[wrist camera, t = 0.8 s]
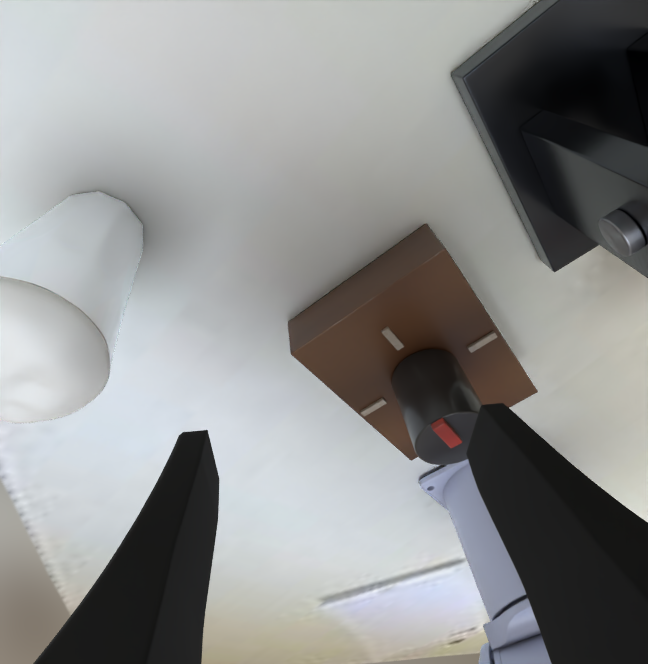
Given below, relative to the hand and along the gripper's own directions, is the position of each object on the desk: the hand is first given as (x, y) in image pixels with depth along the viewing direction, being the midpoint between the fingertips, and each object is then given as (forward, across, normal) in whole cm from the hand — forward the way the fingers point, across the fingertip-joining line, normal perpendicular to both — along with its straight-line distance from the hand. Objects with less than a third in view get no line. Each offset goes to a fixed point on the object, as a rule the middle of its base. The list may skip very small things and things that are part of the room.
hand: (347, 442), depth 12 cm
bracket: (+10, -11, -6) cm, 16 cm away
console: (+10, -5, +5) cm, 13 cm away
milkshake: (+10, +9, -2) cm, 14 cm away
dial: (+8, -5, +5) cm, 11 cm away
